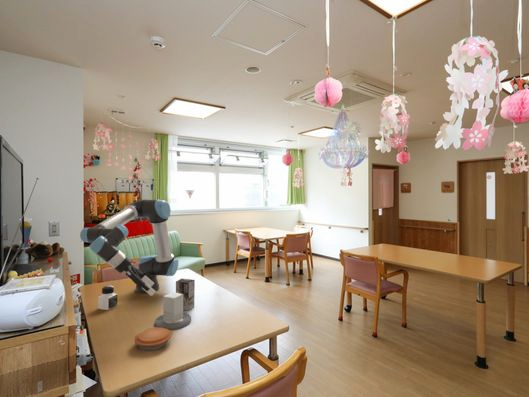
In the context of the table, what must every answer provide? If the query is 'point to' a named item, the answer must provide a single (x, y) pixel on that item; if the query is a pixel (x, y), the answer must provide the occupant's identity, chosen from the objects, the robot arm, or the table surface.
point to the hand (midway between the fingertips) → (153, 289)
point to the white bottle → (107, 298)
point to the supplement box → (173, 307)
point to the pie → (153, 338)
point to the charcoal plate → (169, 325)
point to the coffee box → (186, 292)
